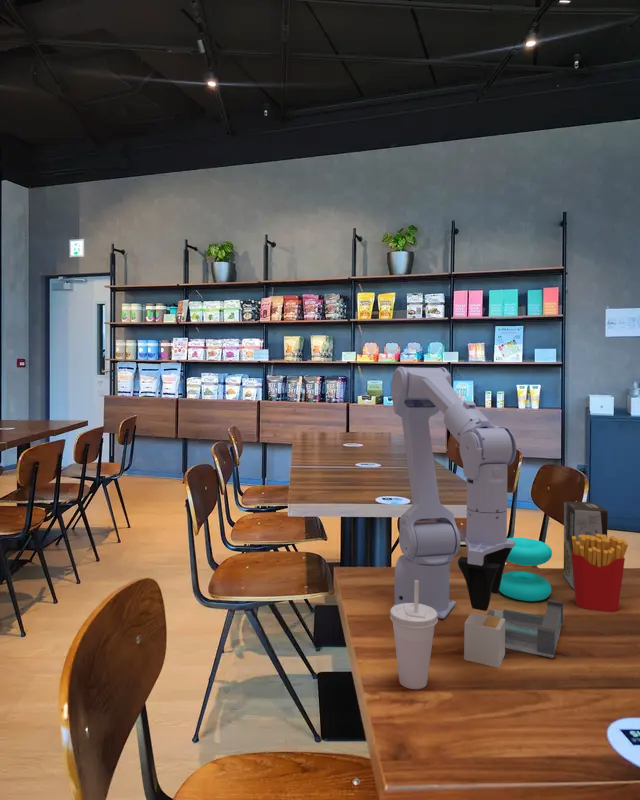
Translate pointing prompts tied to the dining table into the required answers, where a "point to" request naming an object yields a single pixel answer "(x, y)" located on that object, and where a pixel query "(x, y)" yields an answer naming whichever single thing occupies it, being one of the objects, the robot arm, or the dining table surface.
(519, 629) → the rail
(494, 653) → the block
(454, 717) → the dining table surface
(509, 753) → the dining table surface
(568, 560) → the coffee box
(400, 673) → the smoothie
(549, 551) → the donuts
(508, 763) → the dining table surface
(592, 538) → the french fries
